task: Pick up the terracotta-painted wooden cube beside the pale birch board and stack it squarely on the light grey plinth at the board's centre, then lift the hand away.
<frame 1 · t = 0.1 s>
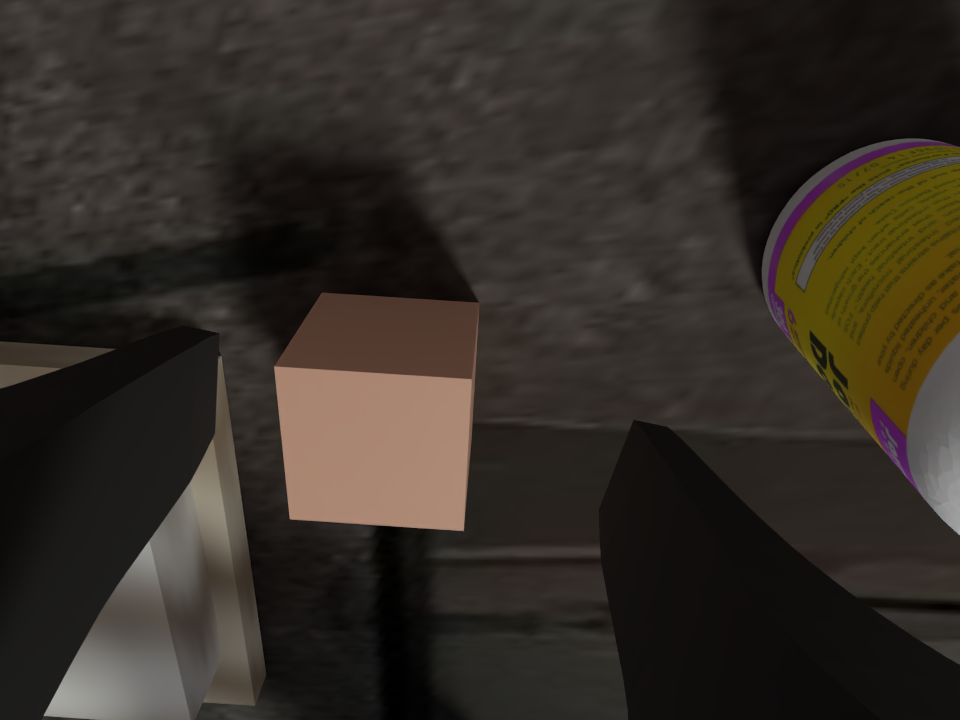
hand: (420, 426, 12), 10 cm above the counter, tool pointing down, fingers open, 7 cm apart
cube: (400, 365, 23), on the counter
supplement bottle: (866, 248, 20), on the counter
base: (94, 527, 26), on the counter
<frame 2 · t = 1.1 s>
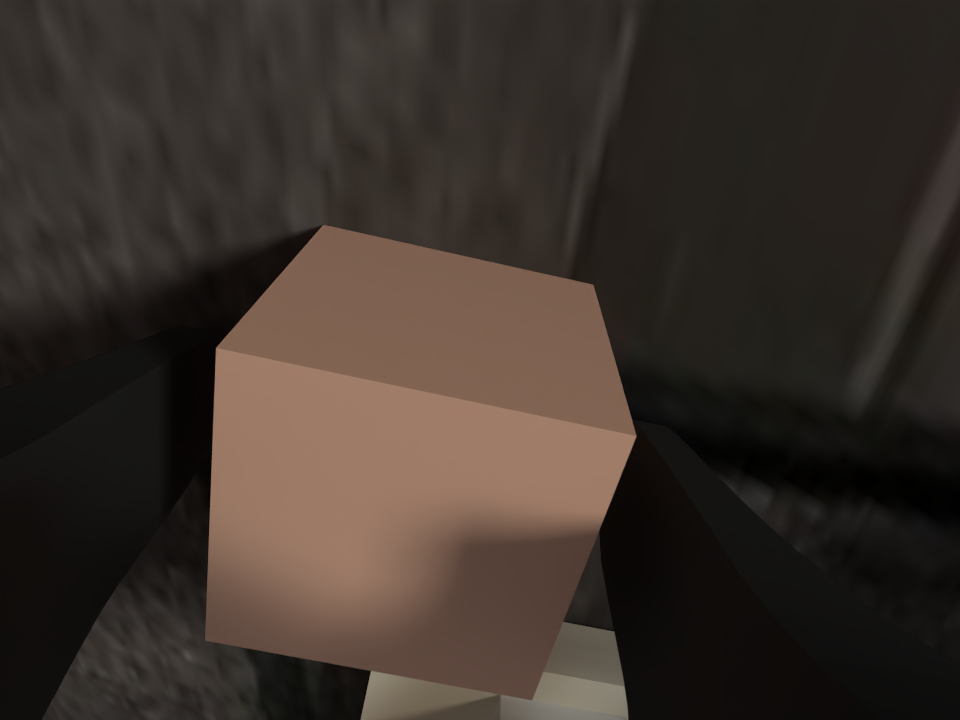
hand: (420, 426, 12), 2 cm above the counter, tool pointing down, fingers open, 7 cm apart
cube: (435, 371, 13), on the counter
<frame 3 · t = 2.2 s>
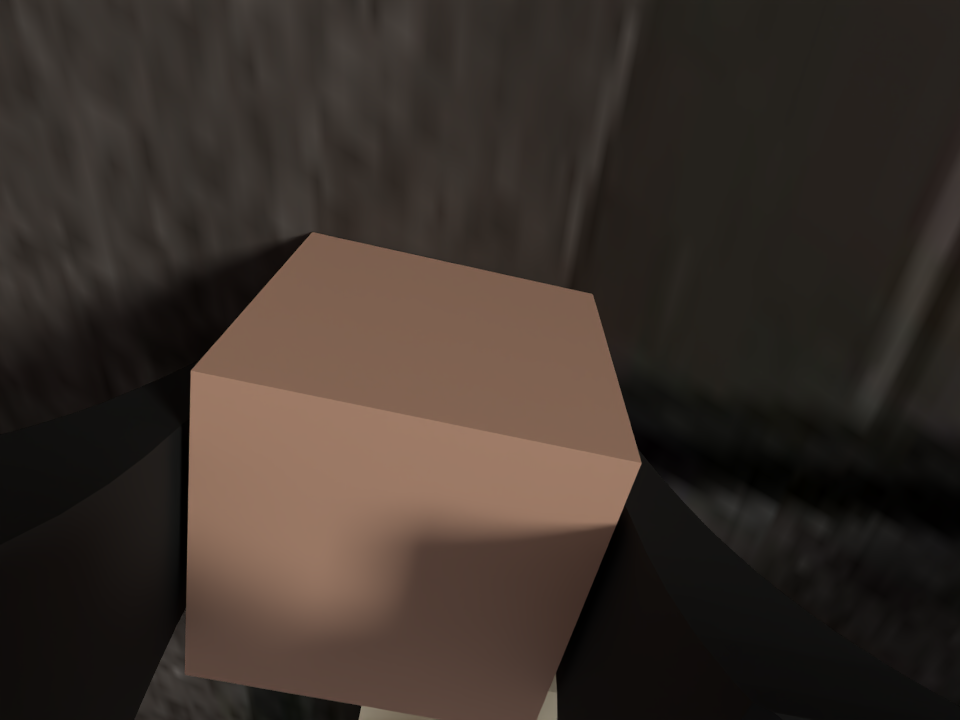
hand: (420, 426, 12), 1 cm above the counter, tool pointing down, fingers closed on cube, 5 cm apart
cube: (428, 384, 13), on the counter, touching gripper
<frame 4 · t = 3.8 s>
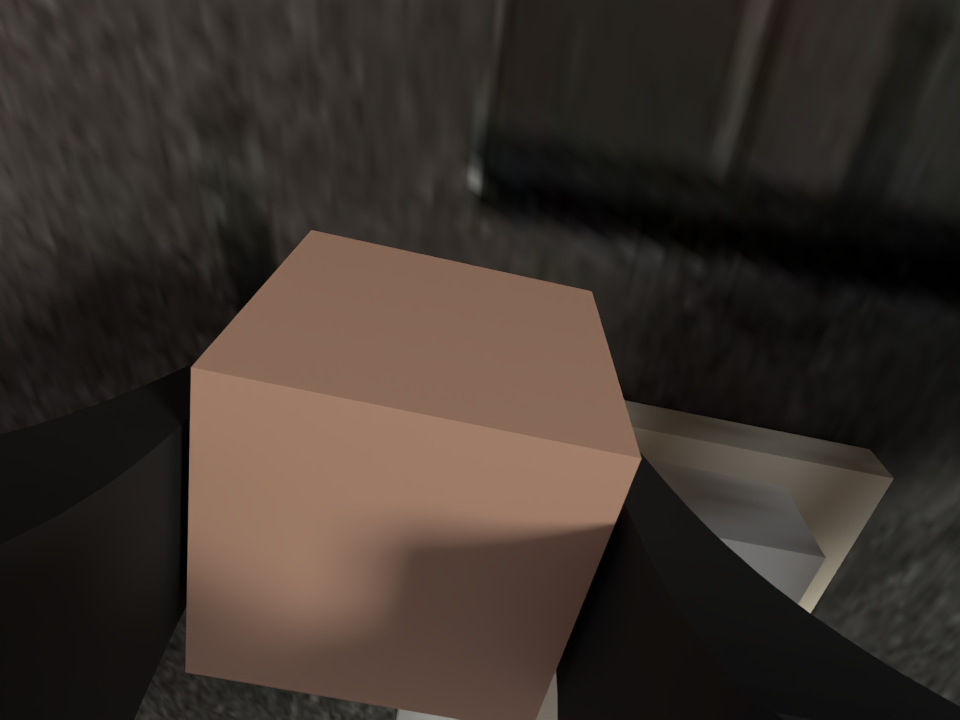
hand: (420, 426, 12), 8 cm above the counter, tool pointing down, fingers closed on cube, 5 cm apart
cube: (428, 382, 13), point 7 cm above the counter, touching gripper
base: (574, 543, 24), on the counter
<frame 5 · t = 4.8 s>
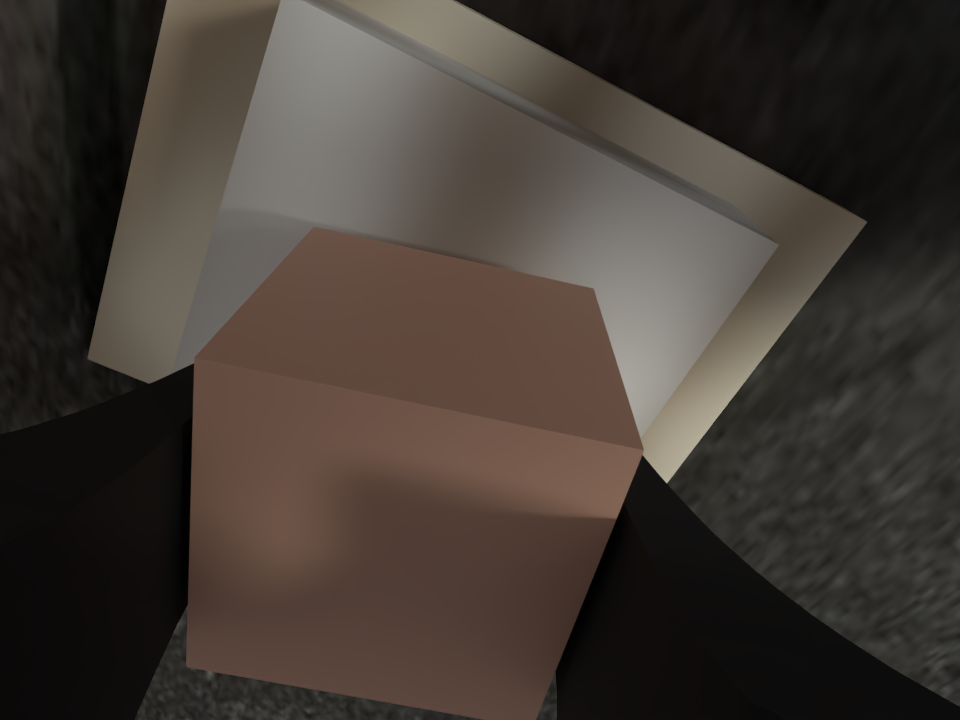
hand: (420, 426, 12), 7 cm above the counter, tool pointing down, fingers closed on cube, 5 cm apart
cube: (429, 379, 13), point 6 cm above the counter, touching gripper
base: (452, 274, 18), on the counter
when the fingers open (7 cm above the counter, at t = 5.7 s): cube drops 1 cm, resting on base.
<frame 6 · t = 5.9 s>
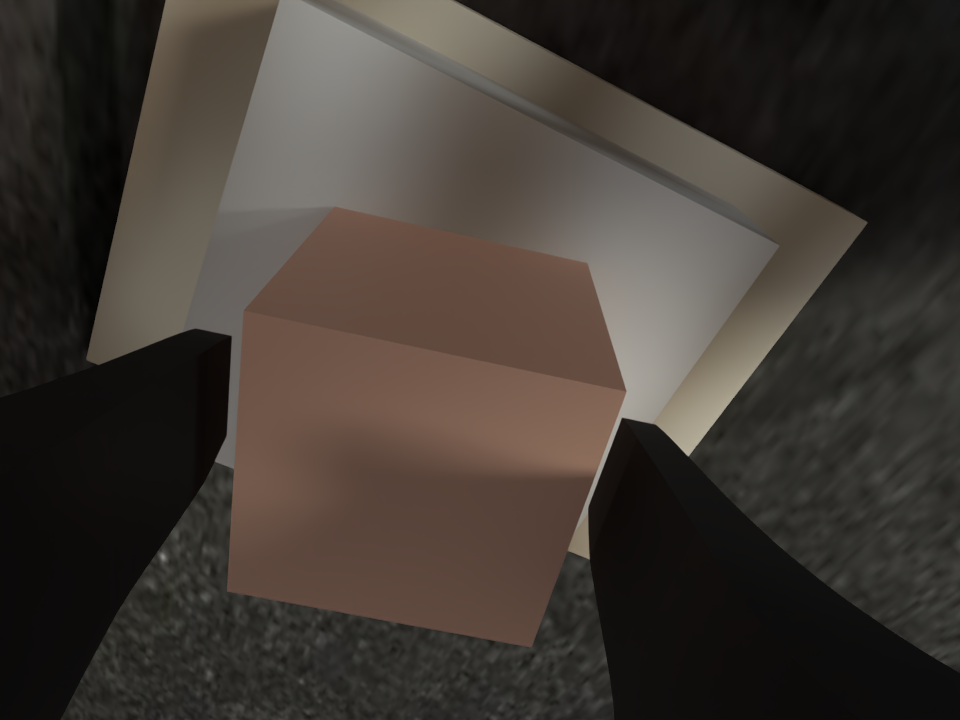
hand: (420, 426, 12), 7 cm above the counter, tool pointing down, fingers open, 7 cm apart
cube: (438, 347, 14), point 4 cm above the counter, touching base
base: (452, 275, 18), on the counter
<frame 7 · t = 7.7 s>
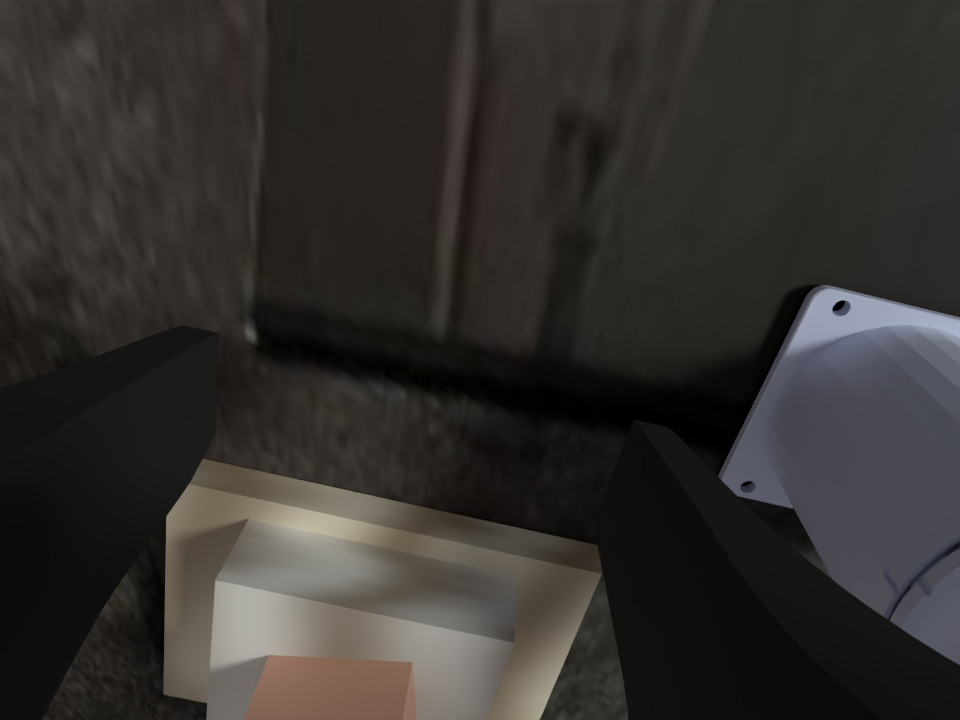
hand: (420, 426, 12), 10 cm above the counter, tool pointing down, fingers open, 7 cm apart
cube: (346, 706, 24), point 4 cm above the counter, touching base
base: (371, 610, 28), on the counter
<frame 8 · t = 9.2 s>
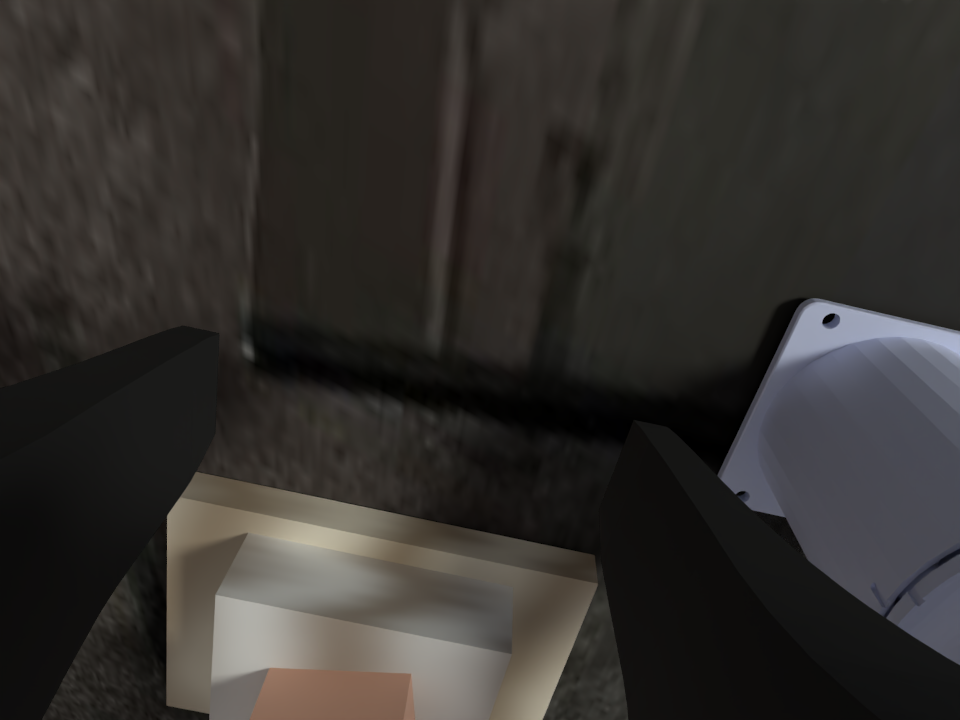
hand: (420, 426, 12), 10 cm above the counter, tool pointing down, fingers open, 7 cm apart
cube: (347, 717, 25), point 4 cm above the counter, touching base
base: (371, 620, 29), on the counter
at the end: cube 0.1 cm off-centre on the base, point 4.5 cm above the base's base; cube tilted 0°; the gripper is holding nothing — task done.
